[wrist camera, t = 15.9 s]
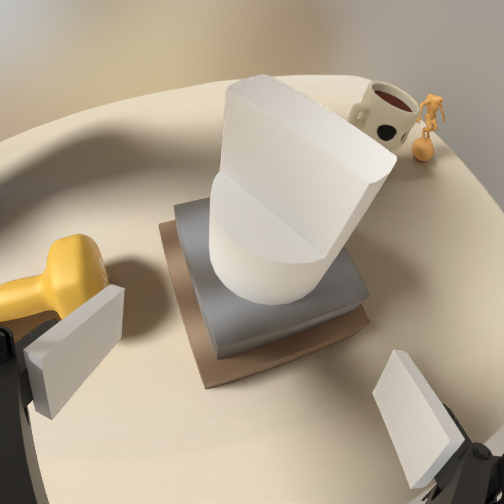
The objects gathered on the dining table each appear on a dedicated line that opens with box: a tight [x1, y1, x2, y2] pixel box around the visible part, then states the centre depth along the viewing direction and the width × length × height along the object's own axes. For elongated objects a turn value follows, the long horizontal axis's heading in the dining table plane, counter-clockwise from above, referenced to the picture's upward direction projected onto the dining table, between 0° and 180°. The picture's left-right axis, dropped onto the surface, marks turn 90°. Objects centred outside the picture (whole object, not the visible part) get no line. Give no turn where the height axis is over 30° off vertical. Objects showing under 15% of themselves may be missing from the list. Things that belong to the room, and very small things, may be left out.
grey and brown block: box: [158, 198, 370, 389], centre depth 27 cm, size 15×15×8 cm
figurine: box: [412, 94, 445, 161], centre depth 42 cm, size 8×6×12 cm
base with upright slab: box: [209, 75, 397, 306], centre depth 19 cm, size 9×9×12 cm
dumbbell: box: [0, 234, 110, 322], centre depth 23 cm, size 19×9×8 cm, turn 109°
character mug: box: [348, 81, 421, 151], centre depth 37 cm, size 11×7×13 cm, turn 105°
